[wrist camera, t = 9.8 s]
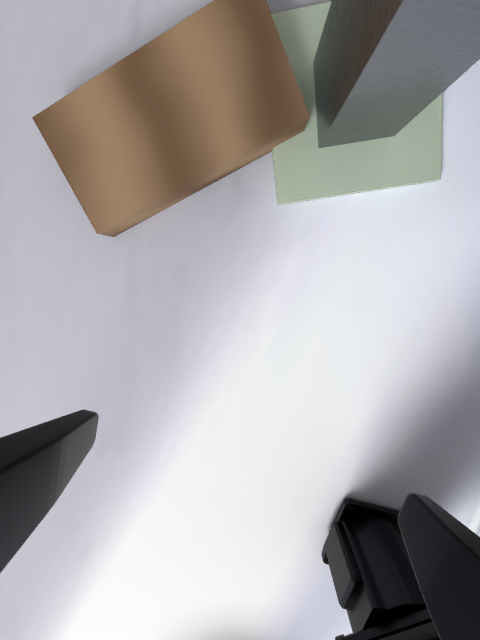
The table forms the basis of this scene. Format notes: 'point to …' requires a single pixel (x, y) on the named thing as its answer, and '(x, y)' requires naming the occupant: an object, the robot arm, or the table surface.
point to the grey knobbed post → (388, 63)
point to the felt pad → (354, 158)
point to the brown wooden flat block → (176, 115)
